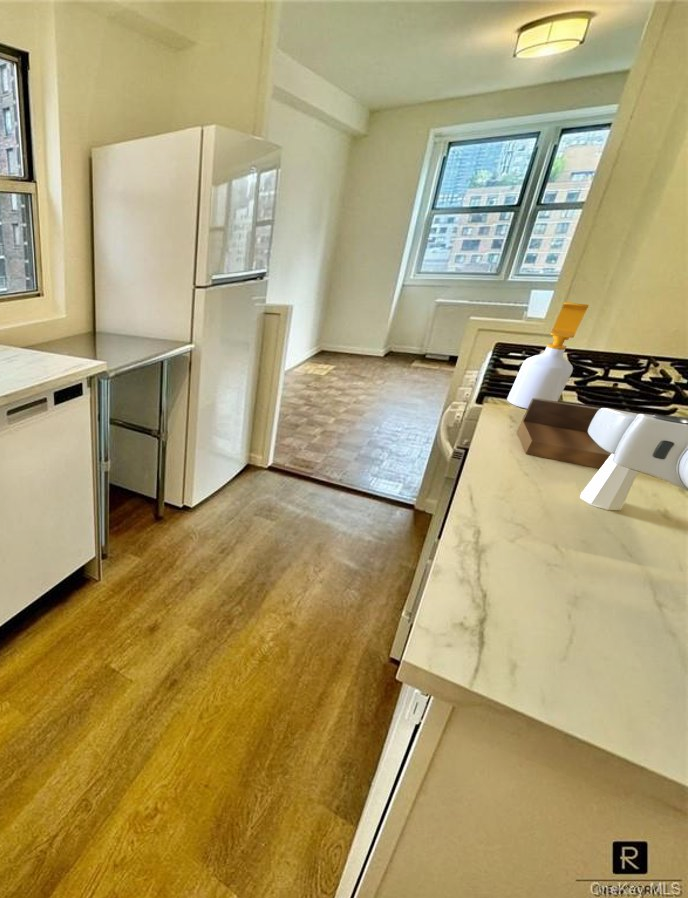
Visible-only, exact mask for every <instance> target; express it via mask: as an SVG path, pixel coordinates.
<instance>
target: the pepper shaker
mask: <svg viewBox="0 0 688 898" xmlns="http://www.w3.org/2000/svg"><path fill="white" fill-rule="evenodd" d="M613 456H614V454H611V455H610V456H609V458H608V459H607V460H606V462H605V463H604V464H603V465H602V467H601V468H598V470H597V472H596V473H595V474H594V476H593V477H592V478H591V480H590V481H589V482H588V483H587V485H586V486H585V487H584V489H583V490H582V491H581V493H580V496H579V498H580V499H581V500H582V501H584V503H586V504H588V505H589V506H592V507H596V508H599V509H602V510H604V511H605V510H606V511H621V510H622V508H623V507H624V504H625V503H626V499H627V497H628V495H629V493H630V490H631V489H632V486H633V484H634V482H635V479H636V477H637V475H638V473H639V472H638V471H634V470H631V469H629V468H626V467H622V466H620V465H617V464H616V463H614V461H613Z"/></svg>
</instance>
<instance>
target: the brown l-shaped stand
mask: <svg viewBox="0 0 688 898" xmlns="http://www.w3.org/2000/svg"><path fill="white" fill-rule="evenodd" d="M601 408H602V407H595V406H589V405H581V404H576V403H569V402H564V401H558V402H557V401H550V400H544V399H537V398H532V400H531V402H530V404H529V406H528V409H526V411H525V413H524V415H523V417H522V419H521V422H520V424H519V426H518V428H517V429H516V434H517V436H518V438H519V441H520V444H521V446H522V449H523V451H524V453H525V455H530V456H534V457H540V458H545V459H548V460H554V461H560V462H565V463H570V464H574V465H581V466H585V467H589V468H590V467H591V468H596V469H600V468H601V467H602V465H603V464H604V463H605V462H606V460H607V459H608V458H609V456H610V455H611V454H612V453H610V452H608V451H606V450H604V449H603V448H601V447H600V446H599V445H598V444H597V443H596V442H595V441H594V440H593V439H592V438H591V437H590V435H589V434H588V428H589V426H590V423H591V421H592V419H593V418H594V416H595V414H596V413H597V411H598V410H599V409H601Z"/></svg>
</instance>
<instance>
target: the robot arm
mask: <svg viewBox="0 0 688 898" xmlns="http://www.w3.org/2000/svg"><path fill="white" fill-rule="evenodd" d="M600 408H601V409H599V410H598V411H597V413H596V414H595V416H594V418H593V419H592V421H591V423H590V426H589V428H588V434H589V435H590V437H591V438H592V439H593V440H594V441H595V442H596V443H597V444H598V445H599V446H600V447H601V448H603V449H604V450H606V451H608V452H610V453H612V454H614V456H613V461H614V463H616V464H617V465H620V466H622V467H626V468H629V469H631V470H634V471H638V473H641V474H645V475H647V476H651V477H653V478H657V479H659V480H663V481H664V482H666V483H667V482H668V483H669V484H672V485H673V486H675V487H677V488H679V489H682V490H684V491H686V492H688V418H683V417H682V418H681V417H672V416H664V415H663V416H662V415H659V414H658V415H657V414H654V415H653V414H647V413H636V412H630V411H626V410H624V411H623V410H619V409H614V408H611V407H600Z"/></svg>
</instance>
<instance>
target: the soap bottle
mask: <svg viewBox="0 0 688 898" xmlns="http://www.w3.org/2000/svg"><path fill="white" fill-rule="evenodd" d="M588 308H589V304H584V303H575V302H563V304H562V307H561V310H560V312H559V313H558V316H557V319H556V321H555V323H554V325H553V327H552V330H550V331H551V332H550V333H549V334H550V335H551V336H552V338H553V339H554V340H553V343H551V342H550V343H547V345H546V347H545V349H544V352H543V353H539V354H535V355H533V356H530V357H527V358H526V359H525V360H524V361H523V362H522V364H521V366H520V368H519V371H518V372H517V375H516V378H515V380H514V382H513V384H512V387H511V389H510V391H509V393H508V395H507V397H506V400H507V402H508V403H510V404H511V405H513V406H516V407H518V408H520V409H521V408H522V409H525V410H527V409H528V406H529V404H530V402H531V400H532V398H537V399H544V400H550V401H557V402H559V399H561V398H560V397H561V395H562V393H563V392H564V389H565V388H566V385H567V384H568V381H569V379H570V378H571V375H572V373H573V371H574V369H573V366H574V365H572V364H571V363H570V361H569V360H567V359H566V358H565V357H564V353H565V351H566V349H567V345H564V343H565V341H568V340H569V339H570V338H572V339H574V337H575V335H576V332H577V330H578V328H579V326H580V324H581V322H582V320H583V318H584V316H585V315H586V312H587V310H588Z"/></svg>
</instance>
